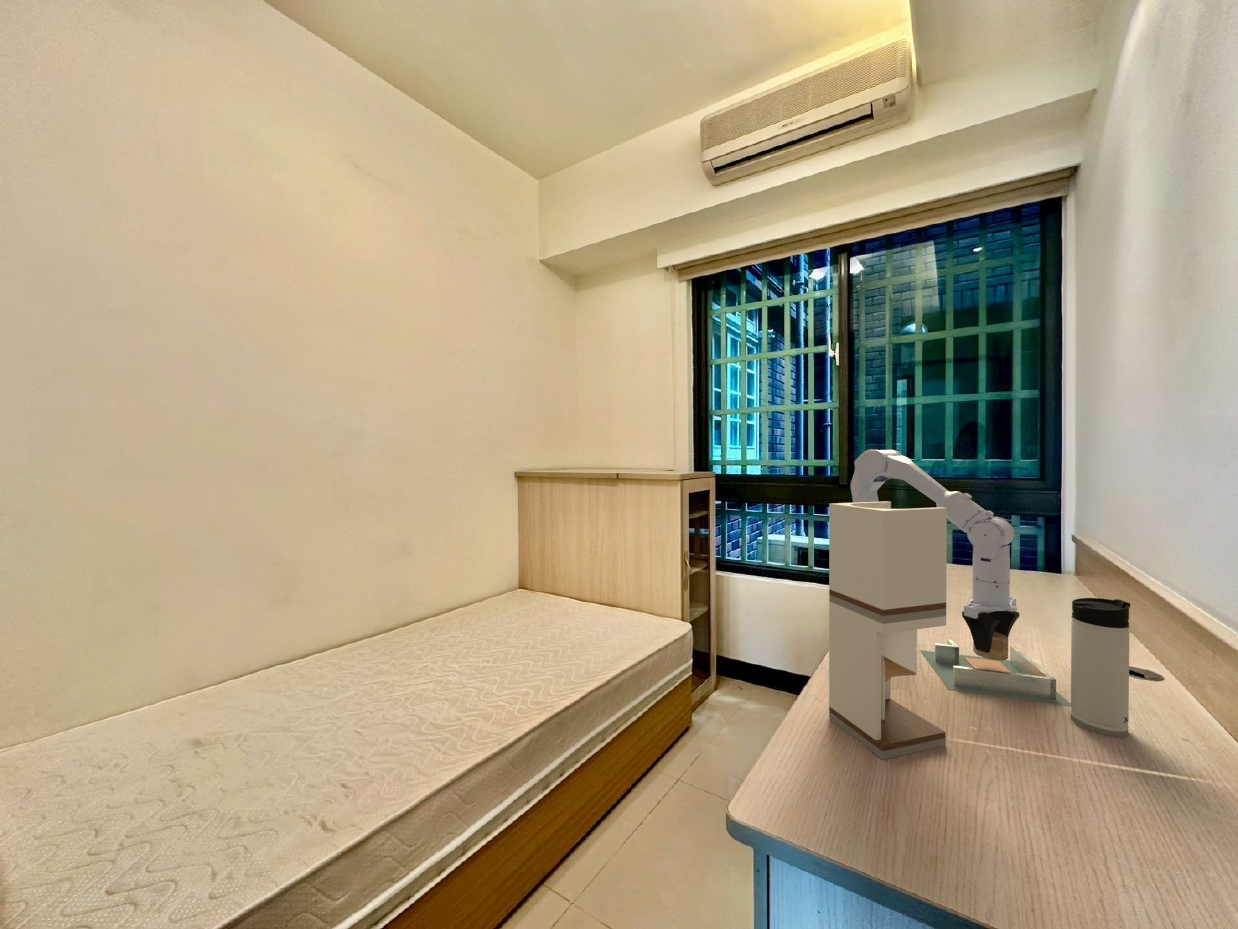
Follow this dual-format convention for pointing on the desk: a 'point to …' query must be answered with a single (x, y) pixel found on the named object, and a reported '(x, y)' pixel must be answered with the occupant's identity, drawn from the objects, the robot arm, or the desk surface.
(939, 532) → the cream shelf tower
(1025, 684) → the metal walled tray
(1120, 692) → the travel mug
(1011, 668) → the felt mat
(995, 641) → the oak ring
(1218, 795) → the desk surface
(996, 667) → the pad
